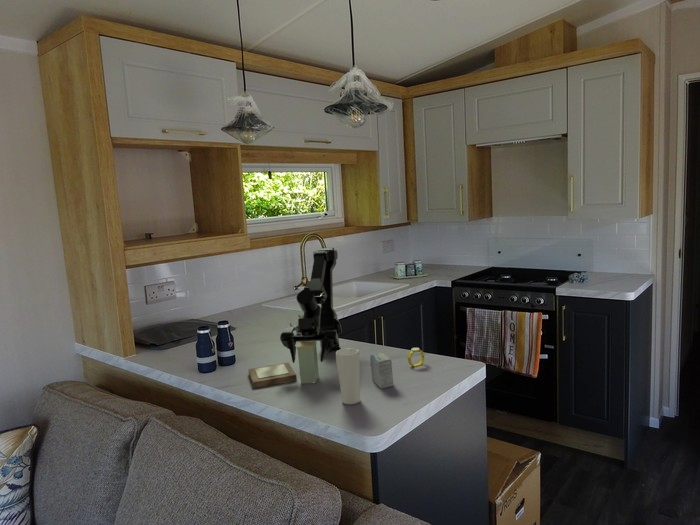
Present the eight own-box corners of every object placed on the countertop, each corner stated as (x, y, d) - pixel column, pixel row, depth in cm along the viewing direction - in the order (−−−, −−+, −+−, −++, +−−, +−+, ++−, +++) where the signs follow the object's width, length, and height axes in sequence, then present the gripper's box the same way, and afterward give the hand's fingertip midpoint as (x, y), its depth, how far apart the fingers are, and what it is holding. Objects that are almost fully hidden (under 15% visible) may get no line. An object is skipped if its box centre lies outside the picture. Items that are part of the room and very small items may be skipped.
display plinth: (288, 367, 187) (288, 361, 186) (296, 380, 173) (296, 373, 173) (249, 374, 183) (248, 368, 183) (253, 388, 170) (253, 381, 169)
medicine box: (393, 386, 162) (392, 359, 161) (380, 389, 161) (378, 361, 159) (384, 378, 169) (383, 352, 168) (371, 380, 168) (369, 354, 167)
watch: (412, 369, 176) (410, 352, 175) (407, 367, 179) (405, 350, 178) (426, 364, 179) (424, 347, 178) (421, 362, 182) (419, 345, 181)
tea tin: (303, 377, 176) (300, 341, 174) (319, 377, 175) (316, 341, 173) (300, 383, 170) (296, 346, 169) (316, 383, 170) (313, 346, 168)
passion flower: (314, 347, 228) (320, 328, 220) (289, 347, 224) (295, 327, 217) (311, 328, 236) (317, 309, 228) (287, 327, 233) (292, 307, 225)
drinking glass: (336, 405, 151) (331, 354, 149) (344, 396, 157) (340, 347, 155) (358, 407, 148) (354, 355, 146) (366, 397, 155) (362, 348, 153)
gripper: (278, 308, 175) (272, 351, 165) (334, 306, 172) (331, 349, 163) (287, 325, 184) (281, 367, 174) (340, 323, 181) (337, 365, 171)
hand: (307, 361), depth 170 cm, fingers open, 9 cm apart
